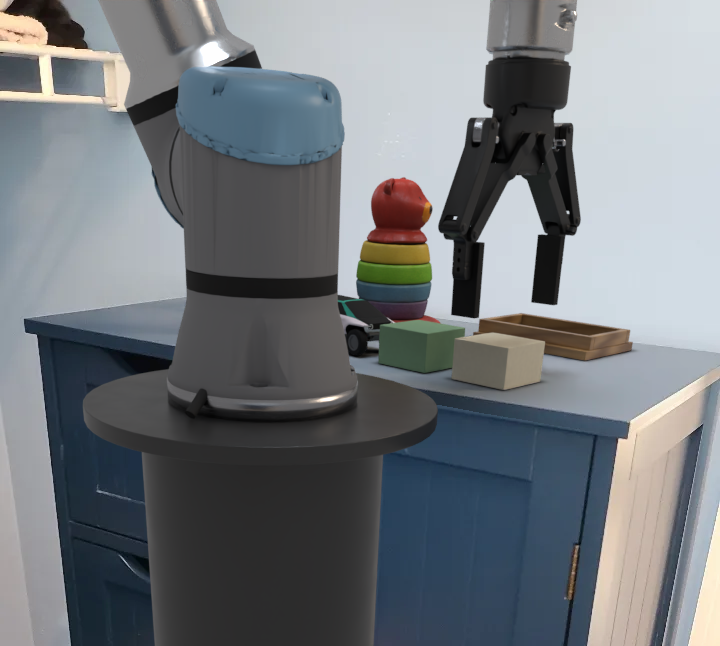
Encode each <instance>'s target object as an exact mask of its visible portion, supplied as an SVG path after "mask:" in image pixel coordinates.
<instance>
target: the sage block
mask: <svg viewBox="0 0 720 646" xmlns="http://www.w3.org/2000/svg"><path fill="white" fill-rule="evenodd" d="M465 335H466V327H463V326H457V325H451V324H446V323H441V322H440V323H435V322H429V321H423V320H413V321H406V322H398V323H391V324H383V325H380V337H379V340H378V358H377V360H378V361H377V362H378V364H380V365H385V366H388V367H389V366H390V367H394V368H399V369H404V370H407V371H412V372H417V373H421V374H428V373H432V372H437V371H442V370H447V369H452V366H453V354H454V342H455V338H461V337H466V336H465Z"/></svg>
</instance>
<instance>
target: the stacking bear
mask: <svg viewBox="0 0 720 646" xmlns="http://www.w3.org/2000/svg"><path fill="white" fill-rule="evenodd" d="M433 208H434V207H433V205H432V203H431V202H430V200H429V199H428V198H427V197H426V195H425V194H424V191H423V189H422V187H420V185H419V184H418V183H417V182H416V181H415V180H412V179H408V178H406V177H405V176H403V177H400V178H394V177H391V178H388V179H386V180H383V181H382V182H381V183H379V184H378V185H377V186H376V188H375V189H374V191H373V193H372V195H371V199H370V209H371V217H372V220H373V223H374V226H375V228H374V229H372V230H371V231H370V232H368V235H367V236H366V240H364V241H363V243H362V245H361V249H360V253H359V260H358V261H357V262H358V263H357V267H356V278H357V279H356V281H355V283H356V284H355V287H356V294H357V297H358V299H362V300H366V301H368V302H369V303H371V304H372V305H373V306H374V307H375V308H376V309H378V310H379V311H380V312H381V313H382V314H383V315H385V316H386V317H387V318H389V319H390V320H392V321H393V322H395V323H398V322H406V321H413V320H423V321H429V322H435V323H441V322H440V321H439V320H438V319H436V318H435V317H433V316H430V315H426V311H427V307H428V303H429V300H428V299H430V295H431V290H432V280H433V267H432V263H431V254H430V248H429V245H428V243H427V242H428V238H427V236H426V234H425V233H424V232H423V231H422V230H421V229H422V228H424V226H425V225H426V224H427V223H428V222H429V220H430V218H431V216H432V213H433Z"/></svg>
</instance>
